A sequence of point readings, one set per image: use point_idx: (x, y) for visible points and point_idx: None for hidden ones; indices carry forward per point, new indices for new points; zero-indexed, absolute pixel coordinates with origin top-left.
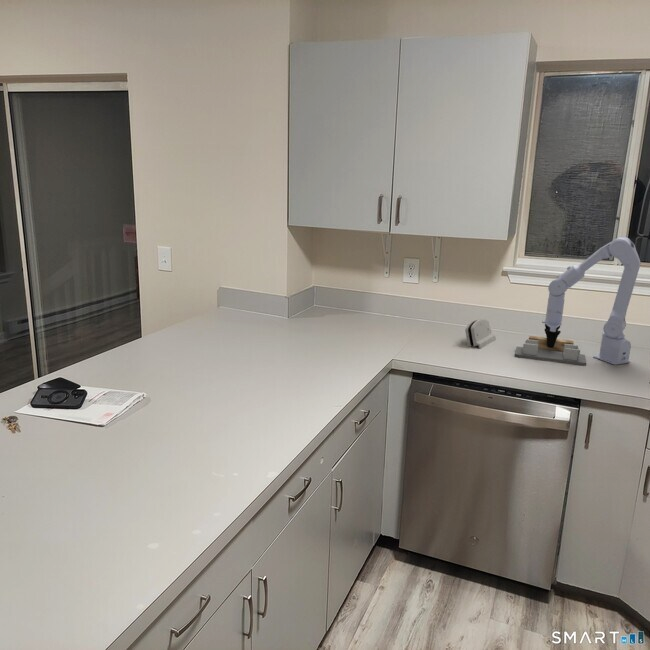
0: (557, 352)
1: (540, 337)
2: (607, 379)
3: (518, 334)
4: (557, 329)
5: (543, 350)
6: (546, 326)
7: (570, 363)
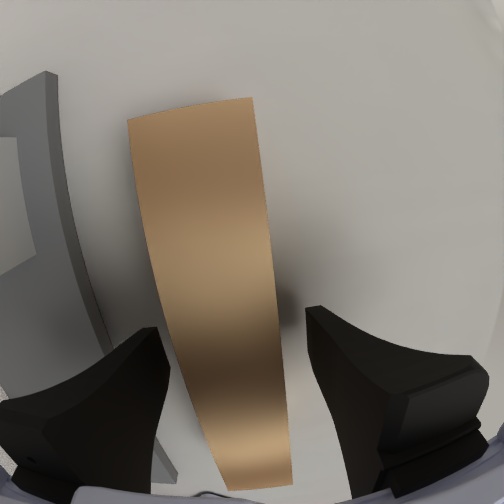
0: None
1: (245, 263)
2: (16, 467)
3: (489, 52)
4: (351, 478)
5: (63, 300)
6: (379, 408)
7: None
